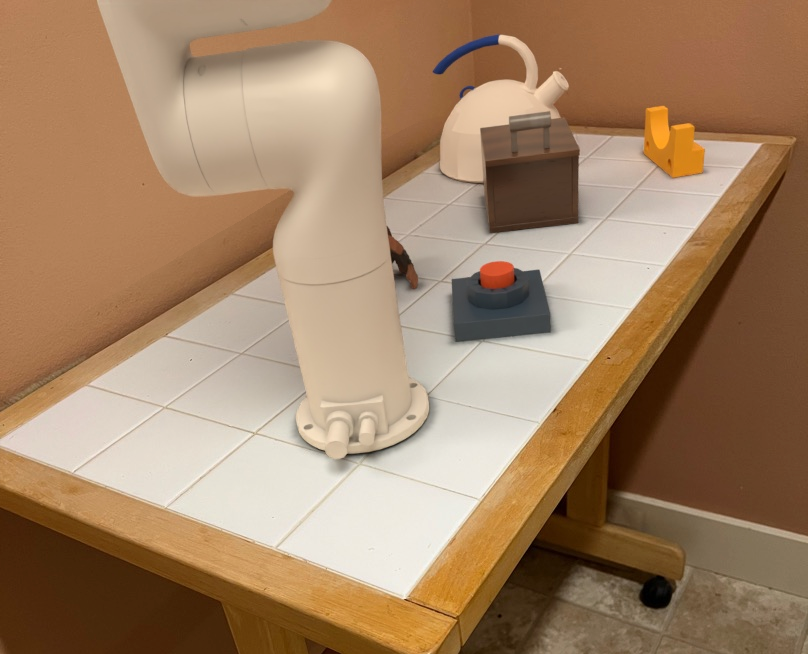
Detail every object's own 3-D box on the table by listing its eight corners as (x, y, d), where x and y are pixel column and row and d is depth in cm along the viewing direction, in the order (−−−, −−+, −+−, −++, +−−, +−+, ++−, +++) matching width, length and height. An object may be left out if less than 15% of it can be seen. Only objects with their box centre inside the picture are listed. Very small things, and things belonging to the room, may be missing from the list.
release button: (515, 288, 85) (515, 273, 84) (481, 292, 86) (480, 277, 85) (513, 274, 88) (512, 259, 87) (480, 278, 89) (478, 263, 88)
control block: (550, 332, 84) (550, 297, 82) (455, 342, 86) (451, 308, 83) (539, 287, 93) (539, 254, 91) (453, 296, 94) (450, 263, 92)
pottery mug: (423, 303, 95) (381, 254, 89) (359, 335, 99) (316, 291, 94) (425, 238, 102) (386, 190, 96) (365, 272, 106) (325, 227, 101)
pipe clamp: (702, 172, 114) (707, 124, 110) (672, 177, 114) (676, 129, 110) (671, 148, 124) (674, 103, 120) (643, 153, 124) (646, 108, 120)
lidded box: (578, 223, 106) (578, 153, 101) (489, 233, 107) (485, 165, 102) (565, 187, 117) (564, 123, 111) (484, 197, 118) (480, 134, 112)
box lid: (579, 155, 100) (580, 112, 97) (485, 167, 101) (483, 125, 98) (564, 123, 111) (564, 83, 108) (480, 133, 112) (477, 95, 109)
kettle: (556, 182, 119) (555, 45, 107) (423, 185, 125) (408, 56, 114) (579, 139, 133) (580, 14, 122) (458, 143, 140) (448, 25, 129)
